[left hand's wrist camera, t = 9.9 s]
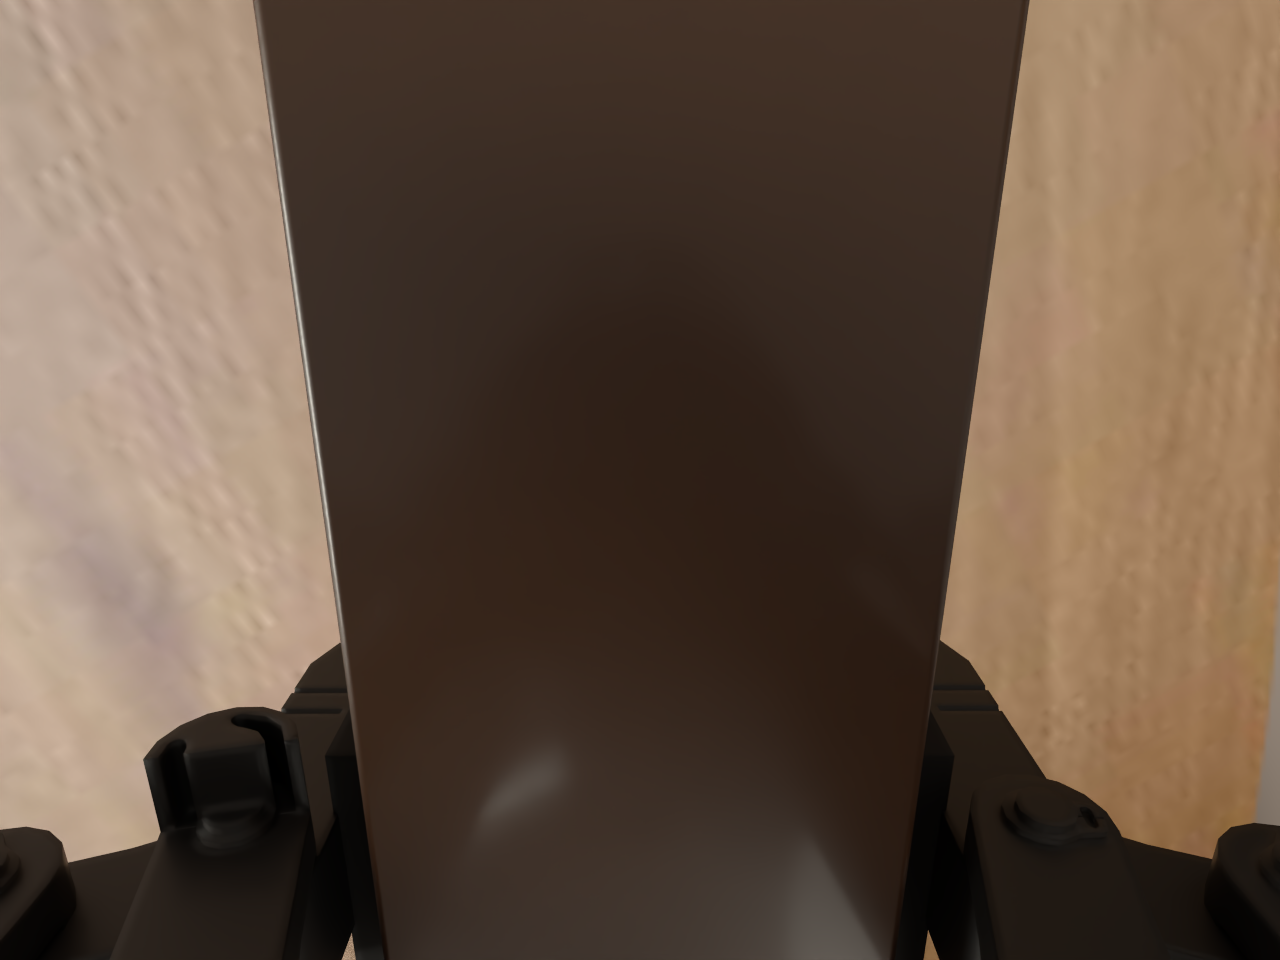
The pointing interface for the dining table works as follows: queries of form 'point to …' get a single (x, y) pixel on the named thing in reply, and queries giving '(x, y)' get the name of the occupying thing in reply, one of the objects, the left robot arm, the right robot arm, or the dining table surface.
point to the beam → (640, 446)
